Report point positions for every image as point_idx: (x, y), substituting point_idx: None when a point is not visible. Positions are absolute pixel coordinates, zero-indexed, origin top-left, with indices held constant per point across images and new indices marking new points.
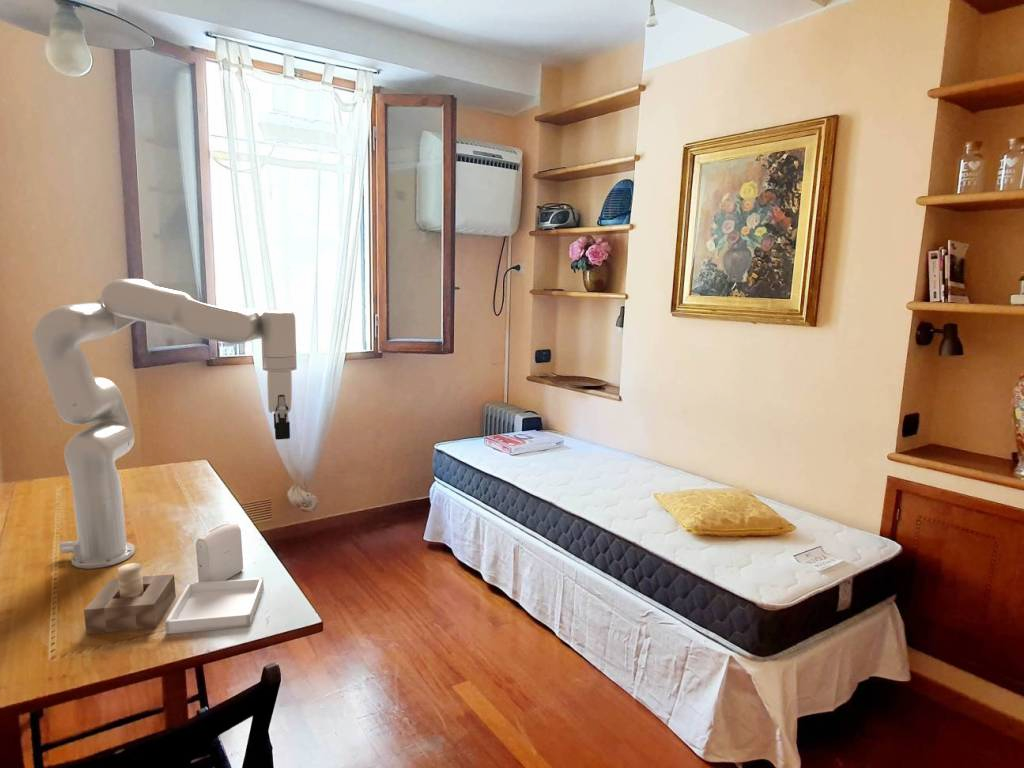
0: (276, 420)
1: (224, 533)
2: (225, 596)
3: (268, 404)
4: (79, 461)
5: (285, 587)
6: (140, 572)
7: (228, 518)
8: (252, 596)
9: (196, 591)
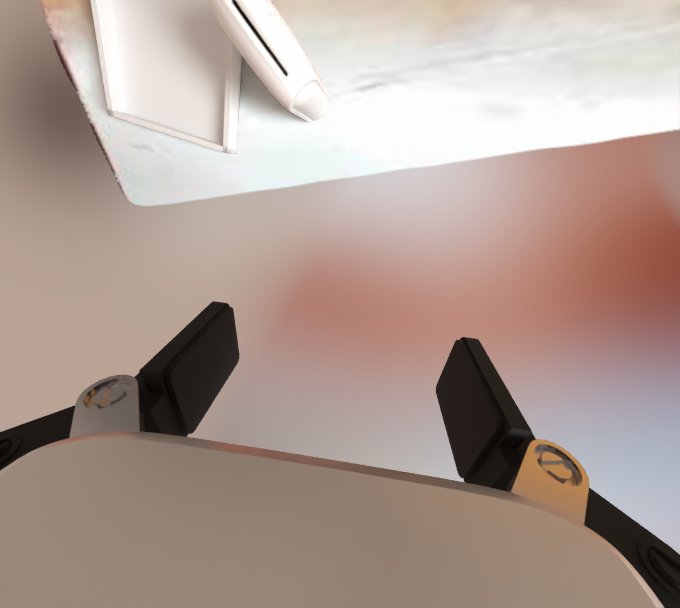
0: (83, 397)
1: (244, 56)
2: (211, 78)
3: (74, 583)
4: None
5: (232, 188)
6: None
7: (613, 110)
8: (203, 130)
9: None
